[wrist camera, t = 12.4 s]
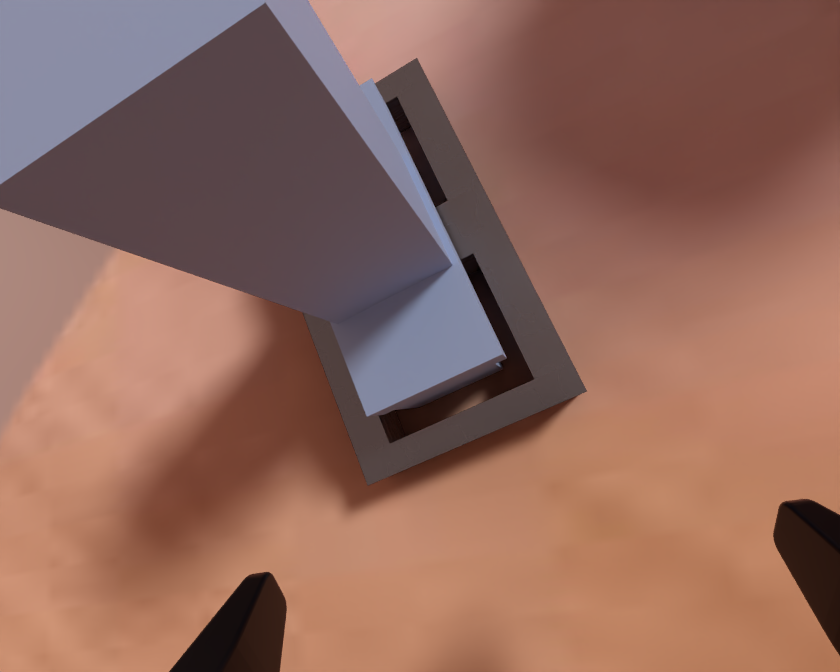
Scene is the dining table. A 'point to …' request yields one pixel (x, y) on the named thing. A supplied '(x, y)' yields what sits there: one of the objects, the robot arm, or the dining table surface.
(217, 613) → the robot arm
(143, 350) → the dining table surface
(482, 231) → the rail
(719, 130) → the dining table surface
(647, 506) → the dining table surface
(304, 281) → the blue-gray inverted t block
